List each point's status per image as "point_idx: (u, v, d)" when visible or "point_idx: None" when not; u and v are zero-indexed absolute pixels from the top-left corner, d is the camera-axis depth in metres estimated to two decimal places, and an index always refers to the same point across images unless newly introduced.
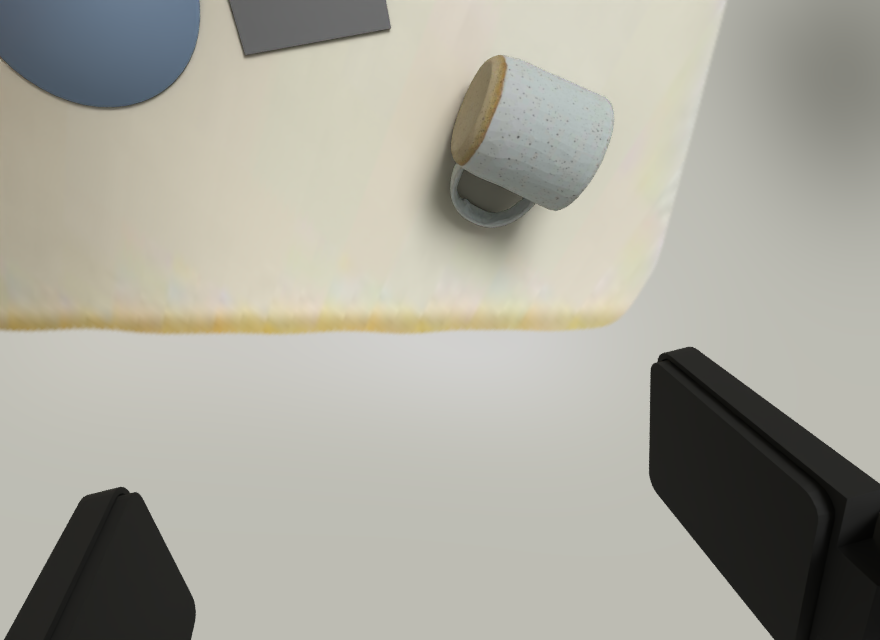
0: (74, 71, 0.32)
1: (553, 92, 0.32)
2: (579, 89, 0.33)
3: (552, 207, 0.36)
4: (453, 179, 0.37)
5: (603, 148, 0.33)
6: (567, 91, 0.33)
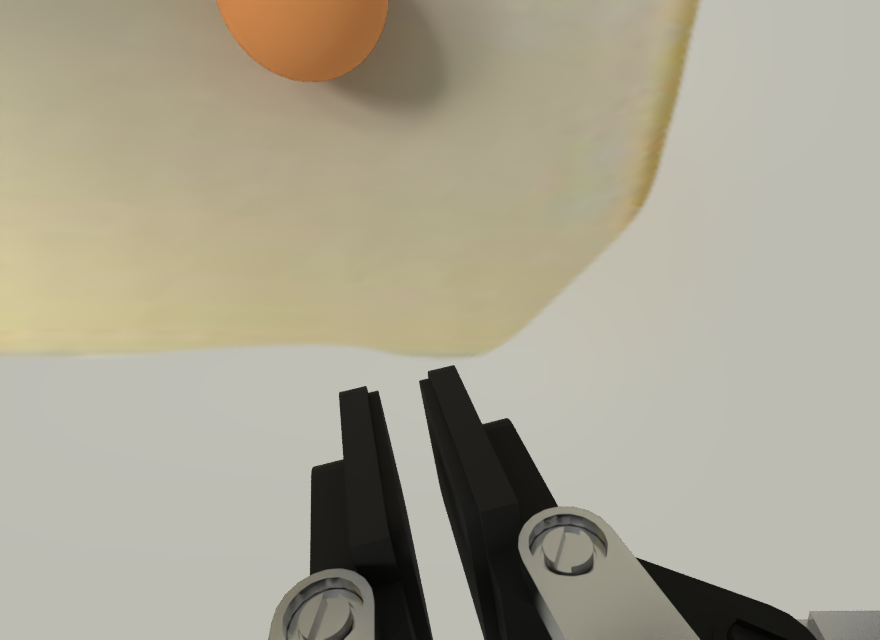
0: None
1: None
2: None
3: None
4: None
5: None
6: None
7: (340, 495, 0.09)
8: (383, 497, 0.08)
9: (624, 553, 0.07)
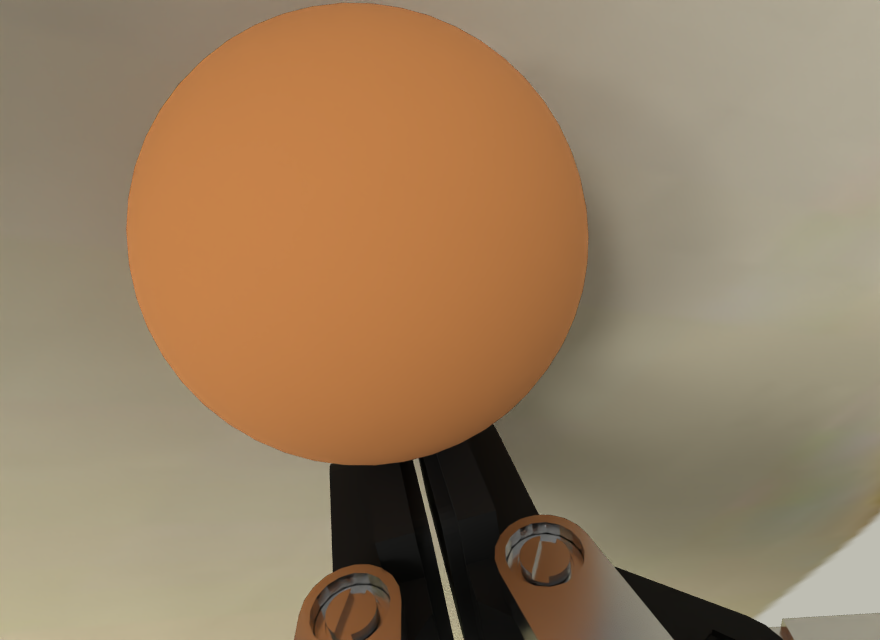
0: None
1: None
2: None
3: None
4: None
5: None
6: None
7: (360, 492, 0.09)
8: (405, 493, 0.08)
9: (601, 560, 0.06)
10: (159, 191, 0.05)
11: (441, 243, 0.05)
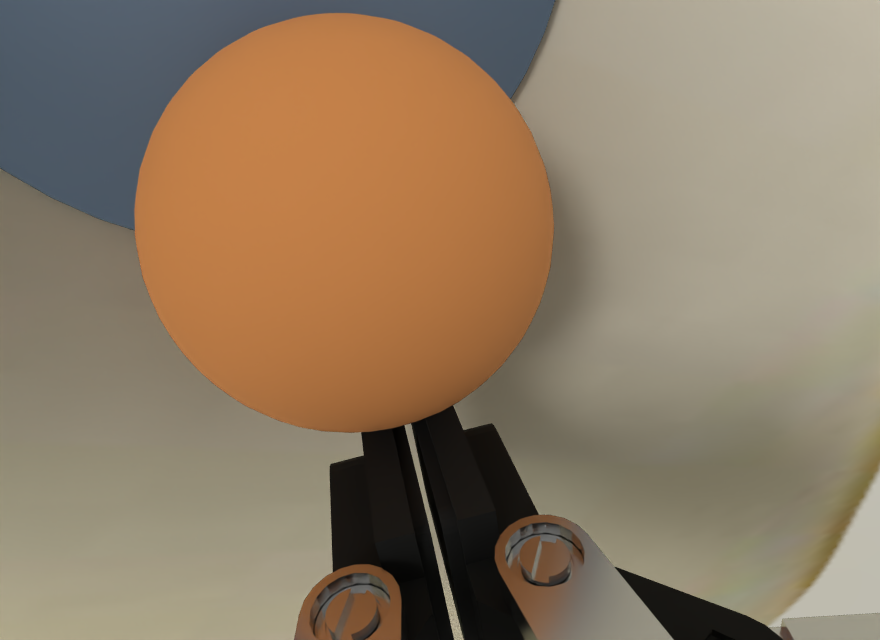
0: None
1: None
2: None
3: None
4: None
5: None
6: None
7: (360, 492, 0.09)
8: (406, 493, 0.08)
9: (601, 560, 0.06)
10: (169, 102, 0.07)
11: (376, 40, 0.06)
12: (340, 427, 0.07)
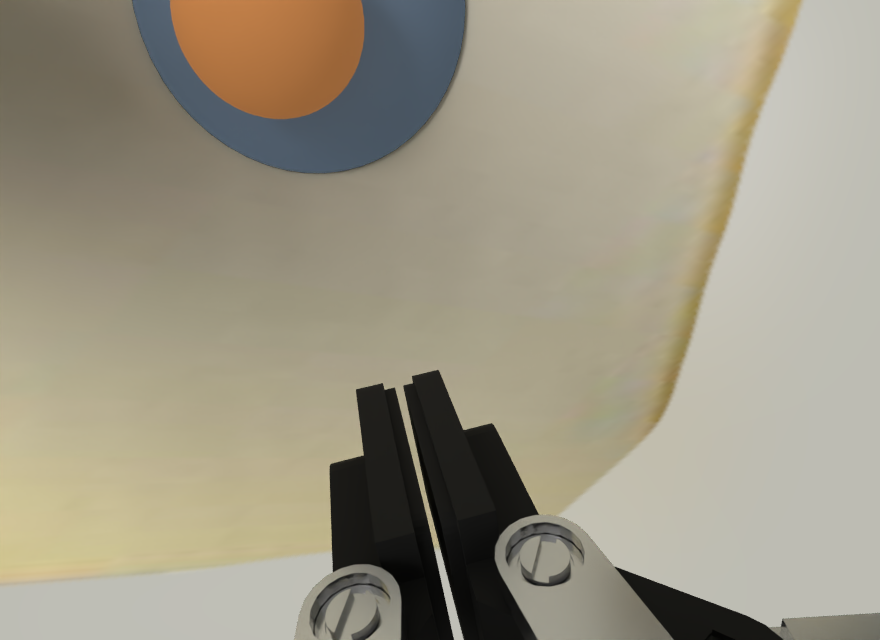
0: (416, 53, 0.22)
1: None
2: None
3: None
4: None
5: None
6: None
7: (360, 492, 0.09)
8: (405, 493, 0.08)
9: (601, 560, 0.06)
10: None
11: None
12: None
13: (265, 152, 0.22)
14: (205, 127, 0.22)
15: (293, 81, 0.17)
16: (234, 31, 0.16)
